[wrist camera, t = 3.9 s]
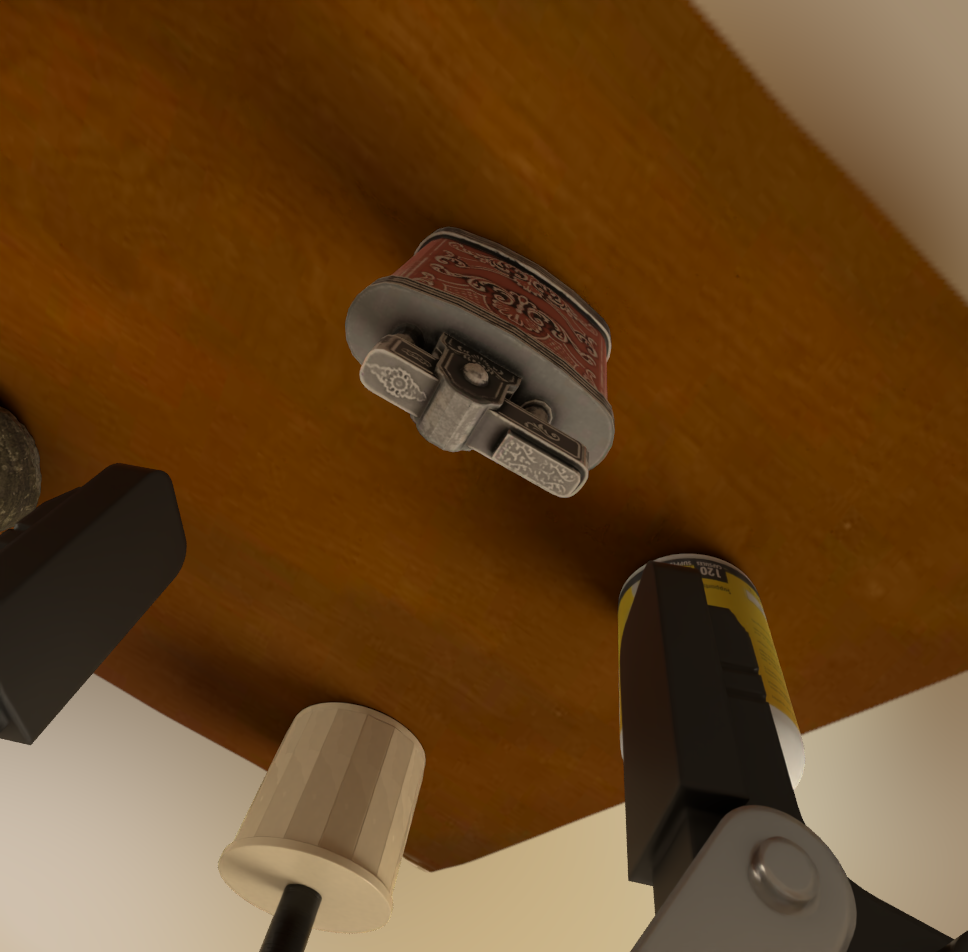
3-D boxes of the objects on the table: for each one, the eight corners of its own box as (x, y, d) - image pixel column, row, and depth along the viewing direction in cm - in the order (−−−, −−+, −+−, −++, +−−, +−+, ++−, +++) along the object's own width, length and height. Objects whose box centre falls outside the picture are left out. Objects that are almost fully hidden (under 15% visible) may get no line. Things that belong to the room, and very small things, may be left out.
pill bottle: (763, 545, 26) (856, 808, 17) (750, 645, 30) (821, 912, 20) (613, 547, 28) (619, 789, 18) (618, 642, 31) (625, 889, 21)
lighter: (402, 286, 23) (286, 399, 14) (441, 203, 21) (334, 277, 12) (578, 392, 24) (567, 553, 15) (630, 322, 22) (648, 463, 14)
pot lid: (397, 850, 31) (361, 983, 26) (395, 927, 37) (366, 1047, 32) (214, 807, 32) (148, 929, 27) (240, 889, 37) (189, 1001, 33)
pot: (428, 719, 38) (388, 863, 31) (423, 797, 43) (388, 935, 36) (285, 689, 38) (214, 823, 31) (297, 769, 44) (239, 899, 37)
